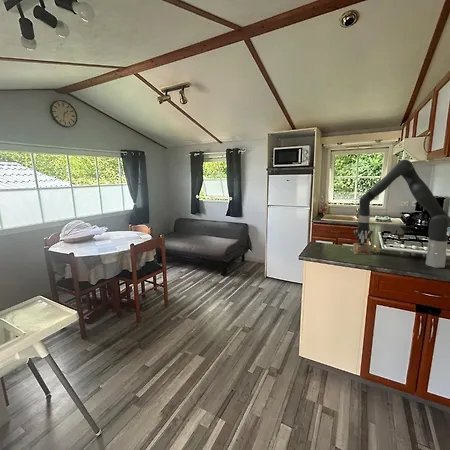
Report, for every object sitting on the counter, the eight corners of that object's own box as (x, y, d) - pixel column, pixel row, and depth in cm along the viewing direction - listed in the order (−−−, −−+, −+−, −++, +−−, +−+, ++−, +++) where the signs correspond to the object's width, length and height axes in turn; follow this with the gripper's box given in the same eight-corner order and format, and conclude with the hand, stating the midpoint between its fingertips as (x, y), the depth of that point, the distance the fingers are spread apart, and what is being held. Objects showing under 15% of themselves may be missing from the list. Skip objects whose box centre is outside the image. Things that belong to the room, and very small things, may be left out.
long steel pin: (364, 248, 193) (365, 233, 191) (360, 248, 194) (361, 233, 191) (362, 247, 196) (364, 232, 194) (358, 247, 197) (359, 232, 194)
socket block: (372, 254, 189) (373, 246, 188) (356, 254, 190) (356, 246, 189) (366, 250, 200) (366, 242, 199) (350, 249, 202) (350, 242, 201)
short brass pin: (378, 253, 192) (379, 245, 191) (374, 252, 193) (375, 245, 192) (377, 251, 195) (377, 244, 194) (372, 251, 196) (373, 244, 195)
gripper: (355, 222, 188) (354, 244, 191) (375, 222, 186) (373, 244, 189) (352, 220, 195) (350, 242, 199) (371, 220, 193) (369, 242, 197)
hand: (362, 243), depth 194 cm, fingers closed on long steel pin, 3 cm apart
